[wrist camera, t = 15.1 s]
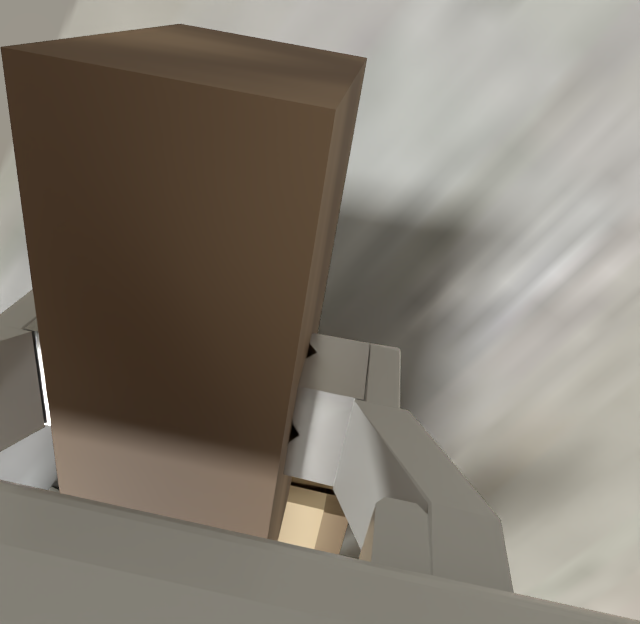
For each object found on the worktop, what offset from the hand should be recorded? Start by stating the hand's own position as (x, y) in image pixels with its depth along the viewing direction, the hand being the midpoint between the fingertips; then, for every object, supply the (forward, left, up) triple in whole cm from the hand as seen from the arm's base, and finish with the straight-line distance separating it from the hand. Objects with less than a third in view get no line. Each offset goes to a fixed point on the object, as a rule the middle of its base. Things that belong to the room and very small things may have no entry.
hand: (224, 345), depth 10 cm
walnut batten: (0, 0, -2) cm, 2 cm away
